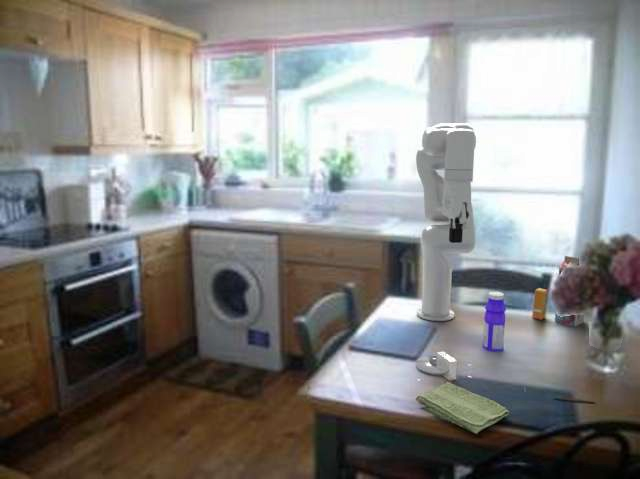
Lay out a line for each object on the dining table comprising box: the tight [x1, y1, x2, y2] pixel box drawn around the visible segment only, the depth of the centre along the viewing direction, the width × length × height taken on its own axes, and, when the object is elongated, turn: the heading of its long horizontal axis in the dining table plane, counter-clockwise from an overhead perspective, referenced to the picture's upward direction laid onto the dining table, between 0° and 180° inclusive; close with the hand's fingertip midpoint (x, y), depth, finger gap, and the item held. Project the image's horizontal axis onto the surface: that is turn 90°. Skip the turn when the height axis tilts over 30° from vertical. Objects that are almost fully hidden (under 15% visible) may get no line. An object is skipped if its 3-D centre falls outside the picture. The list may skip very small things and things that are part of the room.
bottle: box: [482, 291, 507, 353], centre depth 153 cm, size 7×6×17 cm
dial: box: [415, 351, 458, 381], centre depth 139 cm, size 13×10×5 cm
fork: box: [523, 386, 597, 404], centre depth 127 cm, size 3×16×2 cm, turn 75°
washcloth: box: [415, 382, 510, 435], centre depth 121 cm, size 13×18×3 cm
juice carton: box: [554, 255, 585, 327], centre depth 176 cm, size 7×7×22 cm
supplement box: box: [531, 287, 549, 321], centre depth 182 cm, size 3×3×10 cm
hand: (455, 242), depth 149 cm, fingers closed
